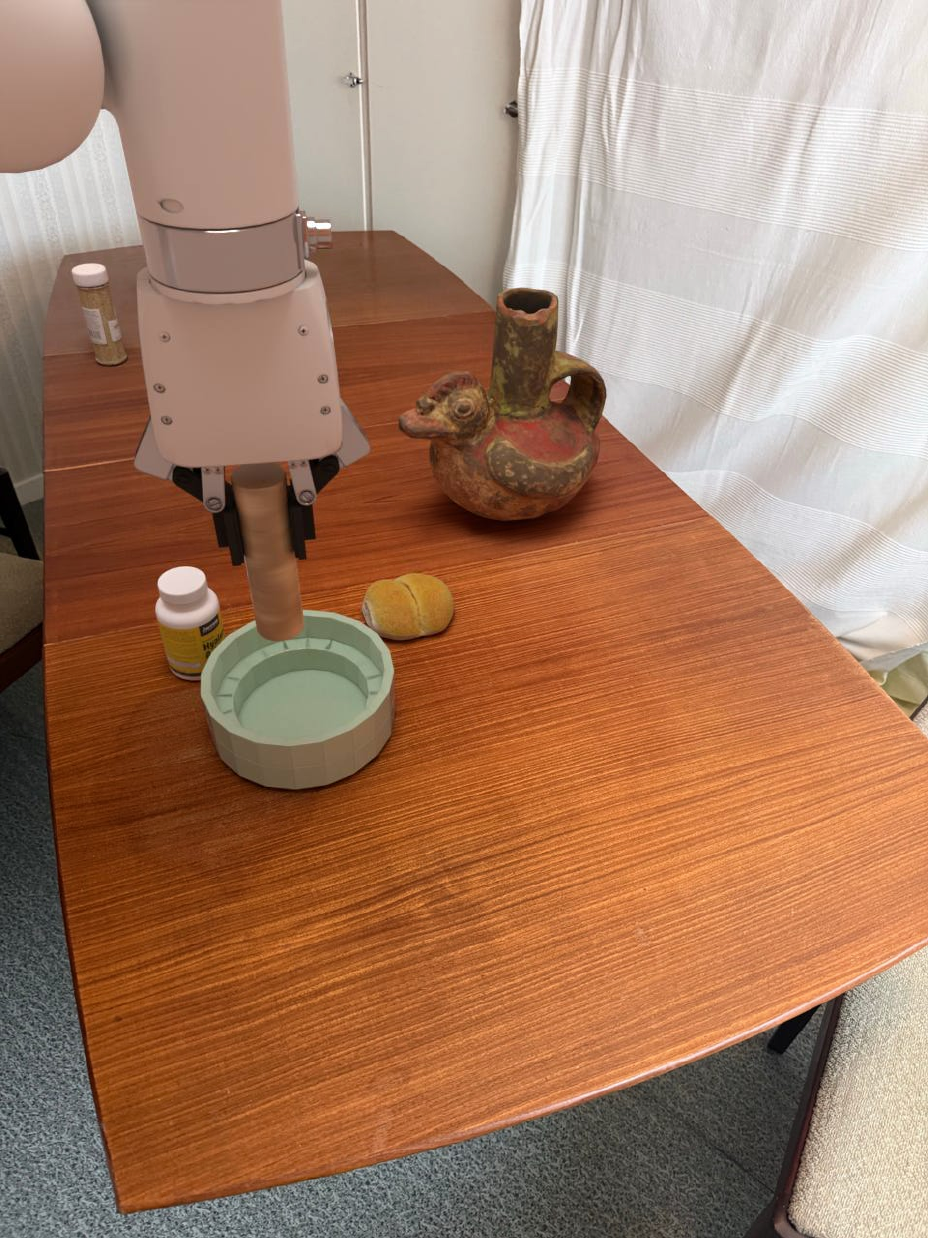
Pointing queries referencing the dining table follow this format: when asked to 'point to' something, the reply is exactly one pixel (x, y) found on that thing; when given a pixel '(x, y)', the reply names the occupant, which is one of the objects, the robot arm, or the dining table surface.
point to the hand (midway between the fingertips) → (269, 547)
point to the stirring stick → (269, 549)
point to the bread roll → (408, 606)
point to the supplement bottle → (188, 620)
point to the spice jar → (99, 313)
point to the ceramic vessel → (514, 419)
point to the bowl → (300, 701)
